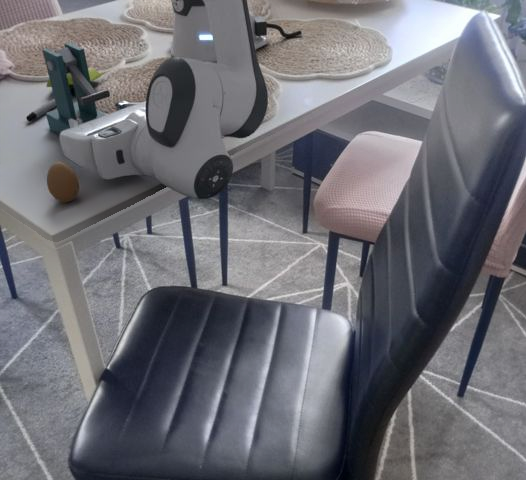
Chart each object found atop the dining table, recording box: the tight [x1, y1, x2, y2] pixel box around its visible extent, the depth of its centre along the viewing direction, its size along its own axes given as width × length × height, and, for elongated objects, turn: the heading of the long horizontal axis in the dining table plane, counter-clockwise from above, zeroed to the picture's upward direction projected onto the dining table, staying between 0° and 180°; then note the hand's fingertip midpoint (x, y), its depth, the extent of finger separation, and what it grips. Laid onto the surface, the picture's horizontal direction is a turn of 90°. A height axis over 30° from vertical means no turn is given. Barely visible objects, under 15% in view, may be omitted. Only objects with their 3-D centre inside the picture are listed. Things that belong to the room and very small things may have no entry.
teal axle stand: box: [42, 41, 106, 136], centre depth 100 cm, size 10×7×14 cm
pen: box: [26, 86, 76, 122], centre depth 113 cm, size 1×16×1 cm, turn 158°
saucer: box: [45, 66, 102, 88], centre depth 118 cm, size 9×9×2 cm
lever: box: [54, 47, 111, 106], centre depth 96 cm, size 10×5×2 cm, turn 46°
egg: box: [46, 161, 80, 203], centre depth 87 cm, size 4×4×6 cm
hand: (96, 114), depth 98 cm, fingers open, 8 cm apart
